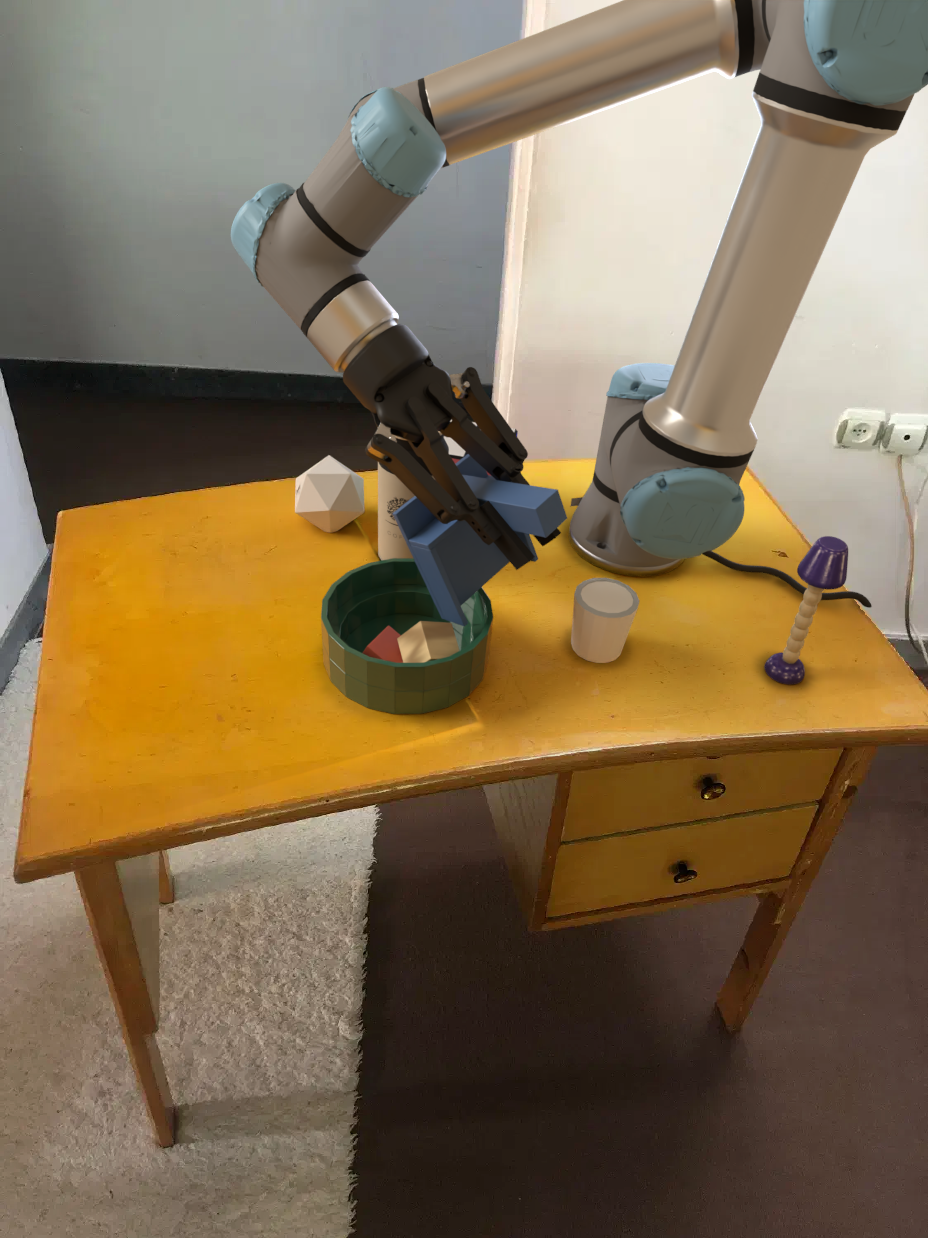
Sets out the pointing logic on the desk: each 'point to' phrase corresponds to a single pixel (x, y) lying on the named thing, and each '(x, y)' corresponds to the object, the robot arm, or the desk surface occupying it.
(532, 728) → the desk surface
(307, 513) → the die
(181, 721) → the desk surface
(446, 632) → the maple block
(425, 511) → the scoop
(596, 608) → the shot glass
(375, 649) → the brick block
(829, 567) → the toy lamp
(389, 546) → the travel mug
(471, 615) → the green pet bowl
